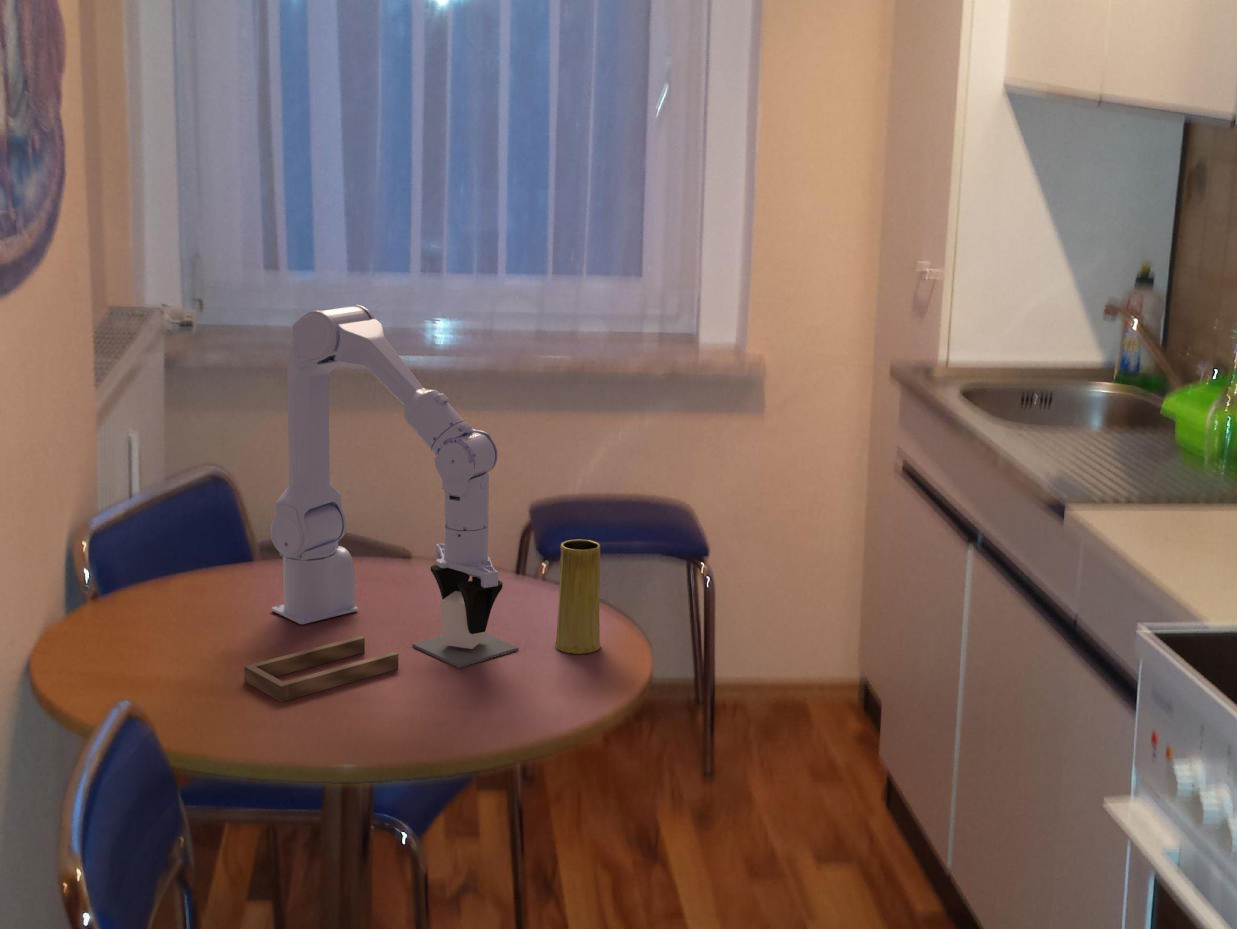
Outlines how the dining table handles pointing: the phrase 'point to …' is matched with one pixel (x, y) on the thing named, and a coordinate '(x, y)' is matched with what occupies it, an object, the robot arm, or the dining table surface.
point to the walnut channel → (282, 691)
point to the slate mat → (465, 650)
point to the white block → (457, 623)
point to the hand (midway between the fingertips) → (465, 624)
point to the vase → (579, 597)
